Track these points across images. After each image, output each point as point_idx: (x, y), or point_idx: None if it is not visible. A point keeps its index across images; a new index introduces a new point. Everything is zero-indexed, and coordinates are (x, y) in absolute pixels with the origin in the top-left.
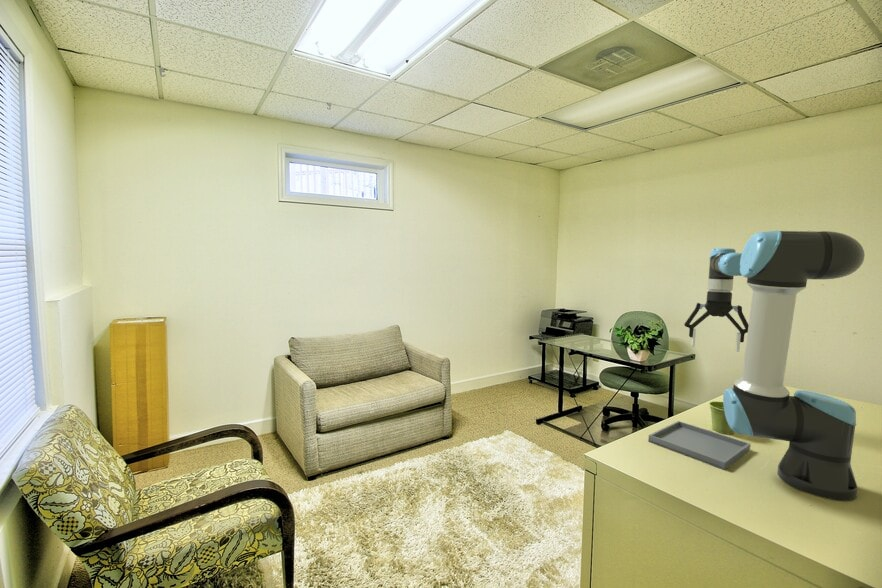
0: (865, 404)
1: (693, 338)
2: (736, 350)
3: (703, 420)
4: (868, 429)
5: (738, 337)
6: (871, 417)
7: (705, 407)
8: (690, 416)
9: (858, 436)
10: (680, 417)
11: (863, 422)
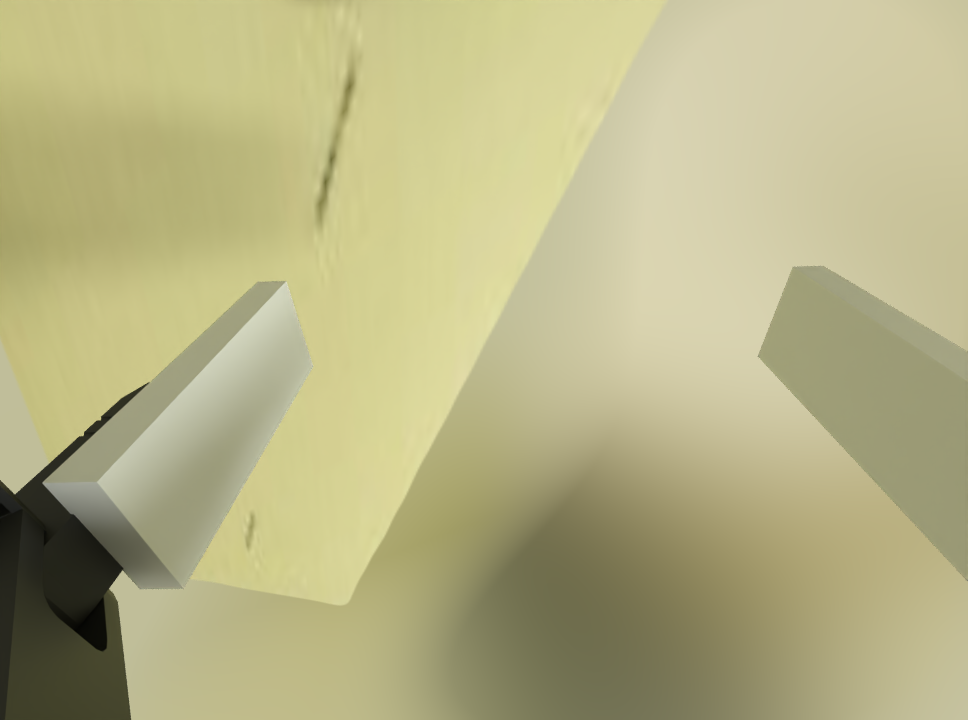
0: None
1: (914, 329)
2: (287, 300)
3: (537, 36)
4: (19, 348)
5: (154, 413)
6: None
7: (509, 270)
8: (594, 67)
9: (8, 246)
10: (651, 4)
11: (54, 410)
